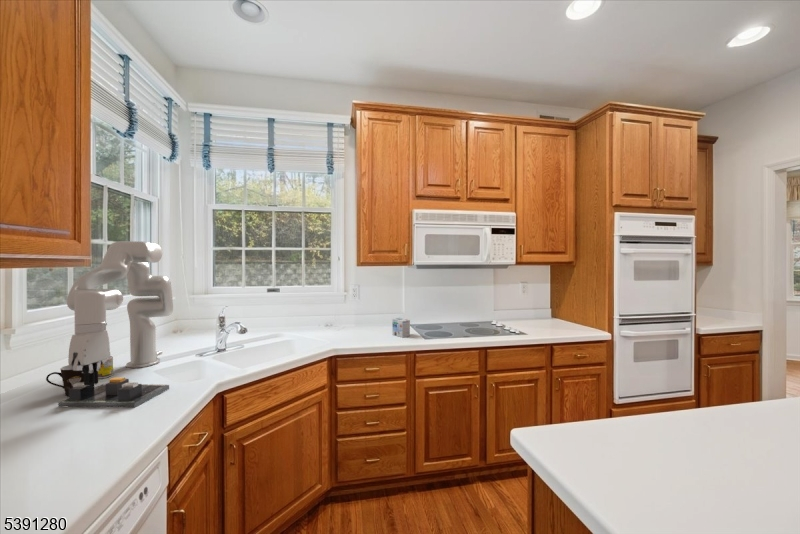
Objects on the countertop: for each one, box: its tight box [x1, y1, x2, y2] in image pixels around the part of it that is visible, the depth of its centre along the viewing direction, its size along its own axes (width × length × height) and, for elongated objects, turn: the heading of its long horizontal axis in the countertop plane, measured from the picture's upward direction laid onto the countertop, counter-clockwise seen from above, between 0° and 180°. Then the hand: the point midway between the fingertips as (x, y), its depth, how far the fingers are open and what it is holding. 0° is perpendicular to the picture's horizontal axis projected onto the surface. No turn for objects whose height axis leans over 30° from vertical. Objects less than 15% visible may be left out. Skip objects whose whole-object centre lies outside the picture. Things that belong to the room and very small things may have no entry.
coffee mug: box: [45, 364, 84, 397], centre depth 121 cm, size 12×9×10 cm
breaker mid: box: [105, 377, 130, 395], centre depth 118 cm, size 5×4×5 cm
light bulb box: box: [391, 317, 411, 339], centre depth 215 cm, size 11×7×11 cm, turn 41°
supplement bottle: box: [98, 353, 114, 380], centre depth 138 cm, size 6×6×10 cm
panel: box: [57, 382, 170, 408], centre depth 118 cm, size 16×26×7 cm, turn 89°
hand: (91, 384), depth 108 cm, fingers closed
